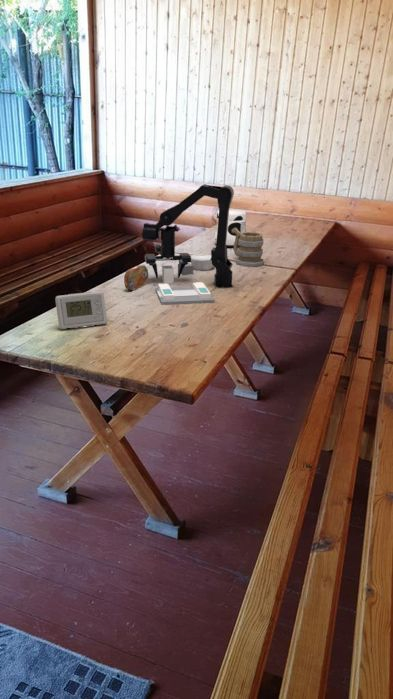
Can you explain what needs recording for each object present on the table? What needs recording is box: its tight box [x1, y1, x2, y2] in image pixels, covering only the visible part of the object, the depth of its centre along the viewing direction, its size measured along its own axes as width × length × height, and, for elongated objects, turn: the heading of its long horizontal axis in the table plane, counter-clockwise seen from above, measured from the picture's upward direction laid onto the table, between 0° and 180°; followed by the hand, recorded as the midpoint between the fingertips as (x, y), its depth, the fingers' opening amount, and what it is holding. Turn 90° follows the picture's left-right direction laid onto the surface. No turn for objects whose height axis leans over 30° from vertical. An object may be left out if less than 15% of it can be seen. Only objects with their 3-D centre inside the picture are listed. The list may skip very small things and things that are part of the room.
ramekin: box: [190, 253, 214, 271], centre depth 251 cm, size 11×11×5 cm
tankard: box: [232, 228, 264, 268], centre depth 262 cm, size 20×13×15 cm, turn 34°
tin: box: [123, 264, 149, 291], centre depth 221 cm, size 15×3×8 cm, turn 154°
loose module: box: [161, 264, 175, 284], centre depth 230 cm, size 4×6×6 cm, turn 12°
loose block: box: [177, 262, 194, 276], centre depth 243 cm, size 5×5×4 cm
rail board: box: [154, 281, 215, 306], centre depth 213 cm, size 20×18×3 cm
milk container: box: [213, 208, 247, 248], centre depth 293 cm, size 17×17×18 cm
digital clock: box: [54, 291, 108, 330], centre depth 181 cm, size 16×9×11 cm, turn 102°
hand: (167, 278), depth 231 cm, fingers open, 9 cm apart
